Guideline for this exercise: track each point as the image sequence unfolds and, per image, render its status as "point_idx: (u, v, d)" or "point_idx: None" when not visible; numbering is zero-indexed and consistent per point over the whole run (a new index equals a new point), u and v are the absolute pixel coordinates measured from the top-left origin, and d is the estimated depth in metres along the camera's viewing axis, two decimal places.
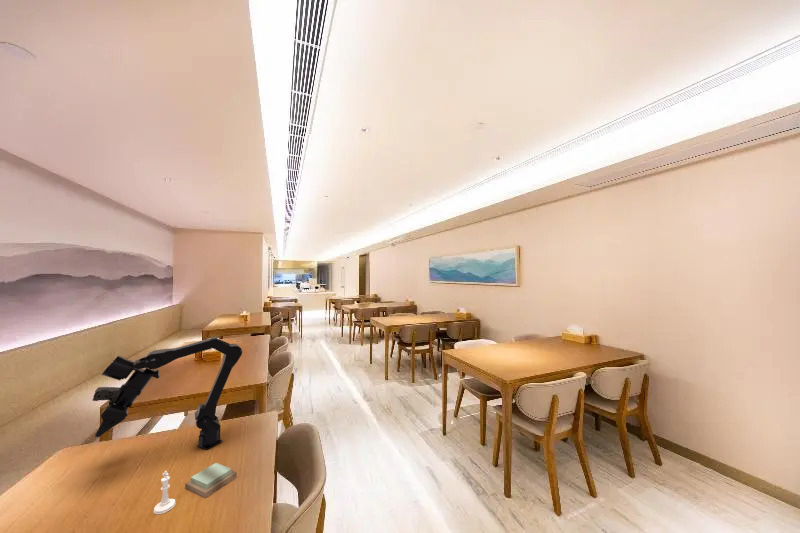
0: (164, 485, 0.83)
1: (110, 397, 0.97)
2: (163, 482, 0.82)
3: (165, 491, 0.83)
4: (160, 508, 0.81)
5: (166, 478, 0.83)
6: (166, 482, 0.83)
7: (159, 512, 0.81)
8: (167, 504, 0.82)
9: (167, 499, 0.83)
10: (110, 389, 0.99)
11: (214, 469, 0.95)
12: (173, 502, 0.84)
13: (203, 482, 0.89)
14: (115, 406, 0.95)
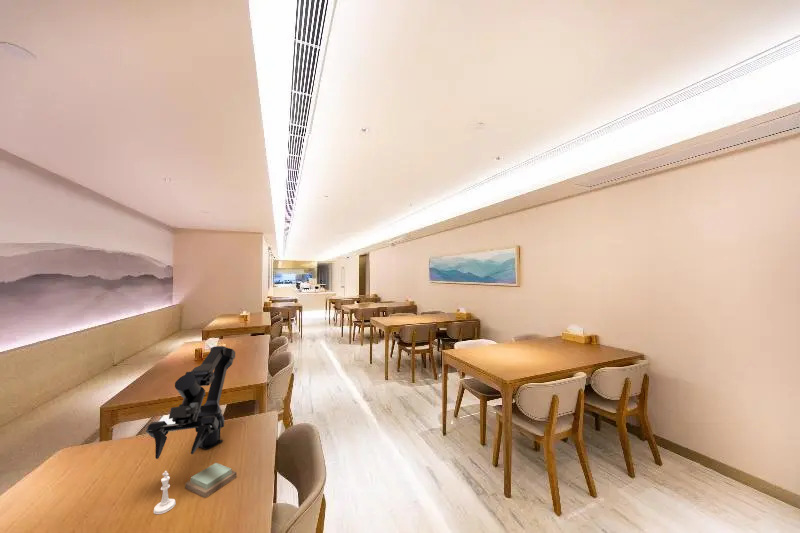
0: (164, 485, 0.83)
1: None
2: (163, 482, 0.82)
3: (165, 491, 0.83)
4: (160, 508, 0.81)
5: (166, 478, 0.83)
6: (166, 482, 0.83)
7: (159, 512, 0.81)
8: (167, 504, 0.82)
9: (167, 499, 0.83)
10: None
11: (214, 469, 0.95)
12: (173, 502, 0.84)
13: (203, 482, 0.89)
14: None
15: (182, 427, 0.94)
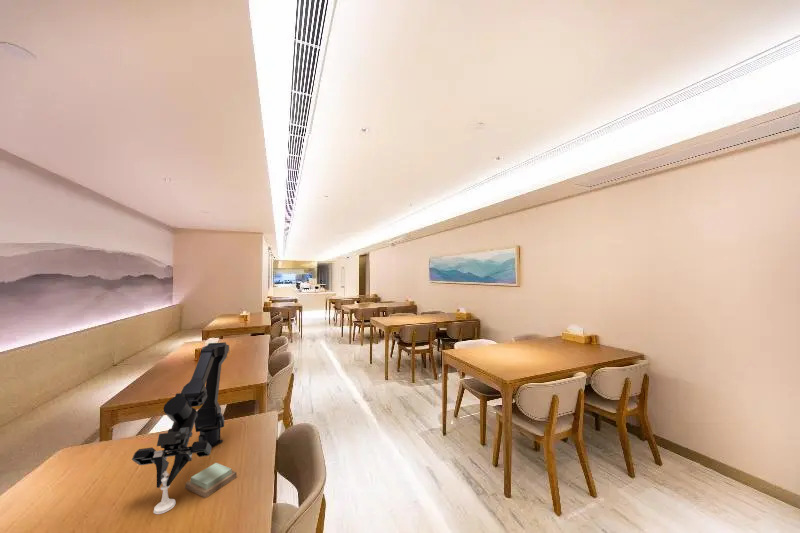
0: (164, 485, 0.83)
1: (183, 438, 0.88)
2: (163, 482, 0.82)
3: (165, 491, 0.83)
4: (160, 508, 0.81)
5: (166, 478, 0.83)
6: (166, 482, 0.83)
7: (159, 512, 0.81)
8: (167, 504, 0.82)
9: (167, 499, 0.83)
10: None
11: (214, 469, 0.95)
12: (173, 502, 0.84)
13: (203, 482, 0.89)
14: None
15: (171, 454, 0.87)
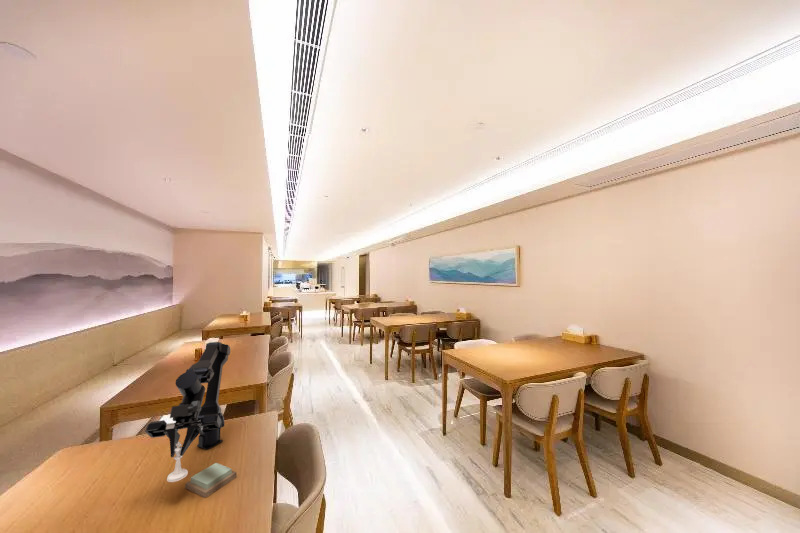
0: (177, 455, 0.86)
1: (194, 411, 0.91)
2: (177, 452, 0.86)
3: (178, 461, 0.86)
4: (173, 476, 0.85)
5: (179, 448, 0.86)
6: (179, 452, 0.86)
7: (173, 480, 0.84)
8: (180, 473, 0.86)
9: (180, 468, 0.86)
10: None
11: (214, 469, 0.95)
12: (185, 471, 0.87)
13: (203, 482, 0.89)
14: None
15: (183, 426, 0.91)
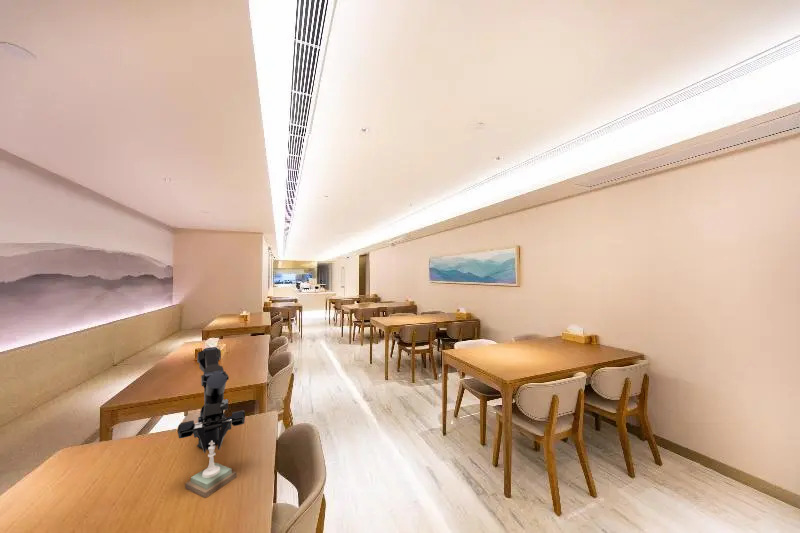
0: (211, 453, 0.93)
1: (223, 409, 0.99)
2: (211, 450, 0.93)
3: (212, 458, 0.93)
4: (209, 472, 0.92)
5: (213, 446, 0.94)
6: (213, 450, 0.93)
7: (210, 475, 0.91)
8: (215, 469, 0.93)
9: (214, 465, 0.94)
10: None
11: None
12: (218, 467, 0.94)
13: (203, 482, 0.89)
14: None
15: (212, 424, 0.97)
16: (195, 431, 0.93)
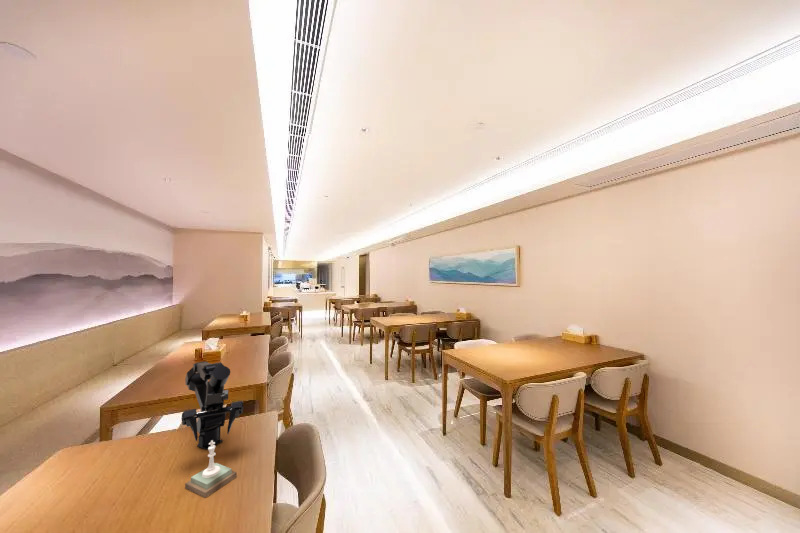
0: (211, 452, 0.93)
1: (223, 399, 1.07)
2: (211, 450, 0.93)
3: (212, 458, 0.93)
4: (209, 472, 0.92)
5: (213, 446, 0.94)
6: (213, 450, 0.93)
7: (210, 475, 0.91)
8: (215, 469, 0.93)
9: (214, 465, 0.94)
10: None
11: None
12: (218, 467, 0.94)
13: (203, 482, 0.89)
14: None
15: (213, 413, 1.05)
16: (188, 420, 1.00)
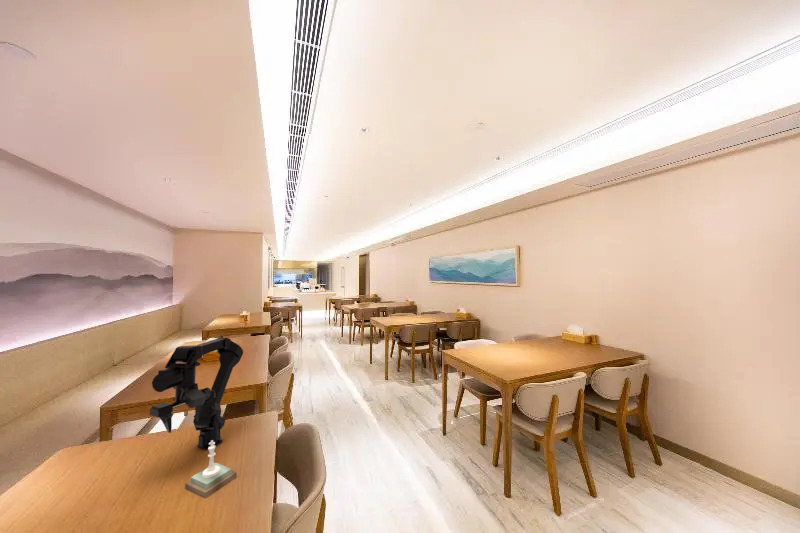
0: (211, 452, 0.93)
1: None
2: (211, 449, 0.93)
3: (212, 458, 0.93)
4: (209, 472, 0.92)
5: (213, 446, 0.94)
6: (213, 450, 0.93)
7: (210, 475, 0.91)
8: (215, 469, 0.93)
9: (214, 465, 0.94)
10: (195, 392, 1.02)
11: None
12: (218, 467, 0.94)
13: (203, 482, 0.89)
14: None
15: (184, 403, 1.03)
16: None
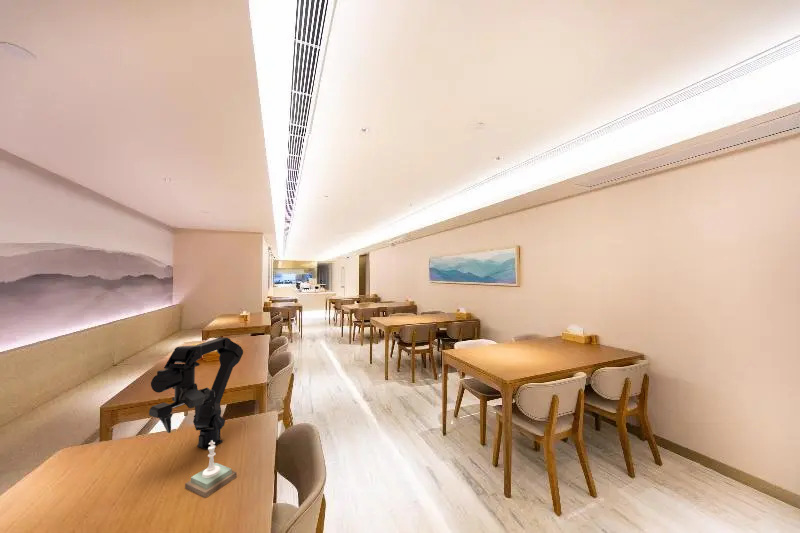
0: (211, 453, 0.93)
1: None
2: (211, 450, 0.93)
3: (212, 458, 0.93)
4: (209, 472, 0.92)
5: (213, 446, 0.94)
6: (213, 450, 0.93)
7: (210, 475, 0.91)
8: (215, 469, 0.93)
9: (214, 465, 0.94)
10: (195, 392, 1.02)
11: None
12: (218, 467, 0.94)
13: (203, 482, 0.89)
14: None
15: None
16: None
